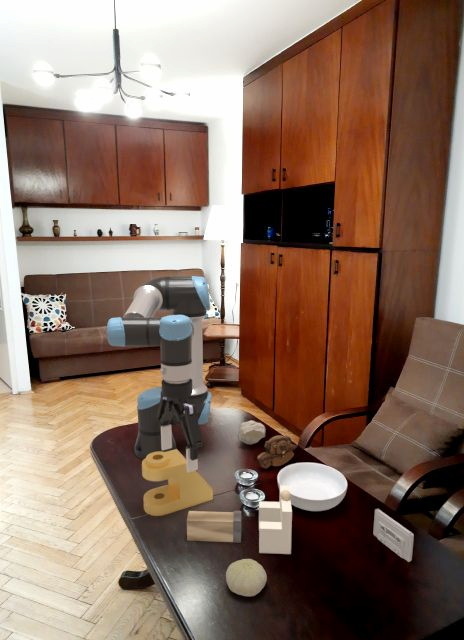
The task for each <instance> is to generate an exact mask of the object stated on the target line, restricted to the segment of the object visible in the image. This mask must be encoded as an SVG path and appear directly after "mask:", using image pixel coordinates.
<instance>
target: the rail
mask: <svg viewBox="0 0 464 640" xmlns="http://www.w3.org/2000/svg"><path fill="white" fill-rule="evenodd" d="M186 517H187V518H186V541H191V542H192V541H197V542H217V543H219V542H220V543H223V542H224V543H238V544H241V543H242V510H233V511H202V510H201V511H199V510H188V513H187V516H186Z"/></svg>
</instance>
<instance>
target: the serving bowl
mask: <svg viewBox="0 0 464 640" xmlns="http://www.w3.org/2000/svg"><path fill="white" fill-rule="evenodd" d="M276 480H277V486H278V490H279V491H280V486H289V492H290V494H291V497H290V500H291V506H294V507H295V508H299V509H301V510H303V511H304V510H305V511H310V512H322V511H328V510H330V509H332V508H335V507H336V506H338V505H339V504H341V502H342V501H343V499H344V498H345V496H346V493H347V490H348V480H347V479H346V477H345V476H344V474H343V473H342V472H340V471H338V470H337V469H336V468H333V467H331V466H328V465H326V464H322V463H318V462H296V463H291V464H288V465H286V466H285V467H283V468H281V469H280V470H279V472H278V474H277V477H276Z"/></svg>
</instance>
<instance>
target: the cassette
mask: <svg viewBox="0 0 464 640" xmlns="http://www.w3.org/2000/svg"><path fill="white" fill-rule="evenodd" d="M373 517H374V520H373V536H374V537H376V538H377V540H378V541H380V542H381V543H382V544H383V545H385V546H386V547H387V548H388V549H390V550H391V551H392V552H394V553H395V554H396V555H397V556H399V557H400V558H401V559H404V560H405V561H407V562H408V563H410V562H411V561H412V560H413V559H412V558H413V548H414V539H415V538H414V537H415V535H414V533H413V532H412V531H410V530H409V529H407V528H406V527H404V526H403V525H402V524H400V523H399V522H398V521H396V520H394V519H393V518H392V517H390V516H389V515H388V514H386V513H385V512H383V511H382V510H381V509H380V508H375V509H374V516H373Z"/></svg>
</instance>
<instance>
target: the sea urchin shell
mask: <svg viewBox="0 0 464 640" xmlns="http://www.w3.org/2000/svg"><path fill="white" fill-rule="evenodd" d="M267 580H268V576H267V573H266V570H265V569H264V567H263V566H262V565H261V564H260V563H259V562H258V561H256V560H254V559H252V558H243V559H239V560H236V561H233V562H231V563H230V564H229V566H228V567H227V570H226V572H225V581H226V585H227V586H228V589H229V590H230V591H231V592H232V593H235V594H237V595H239V596H243V597H255V596H256V595H257V594H259V593H260V592H261V591H262V589H264V587H265V586H266V583H267Z"/></svg>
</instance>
